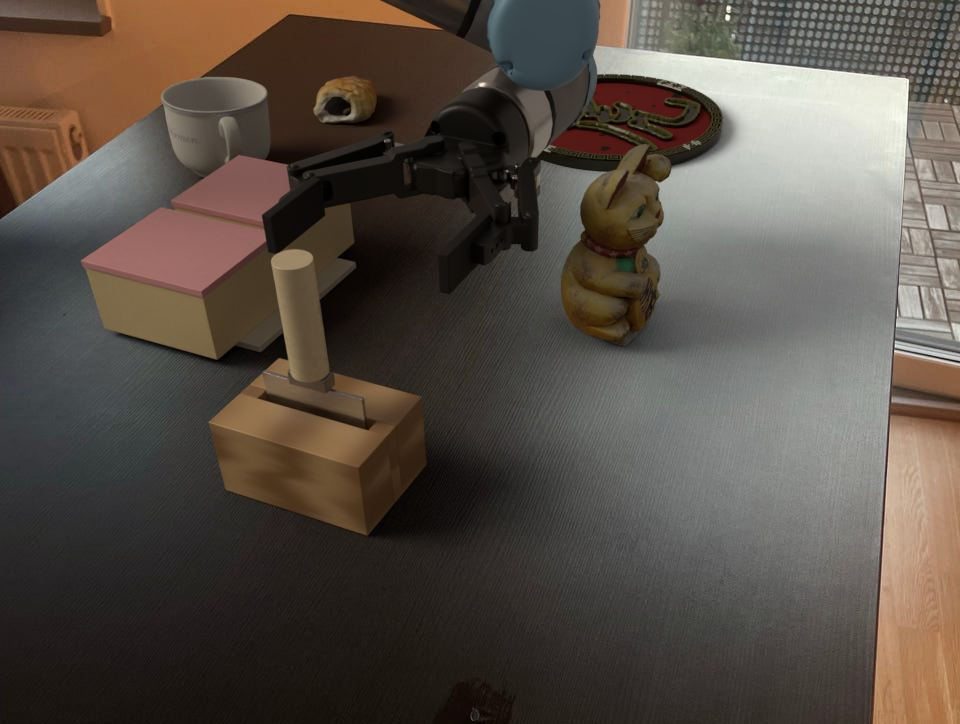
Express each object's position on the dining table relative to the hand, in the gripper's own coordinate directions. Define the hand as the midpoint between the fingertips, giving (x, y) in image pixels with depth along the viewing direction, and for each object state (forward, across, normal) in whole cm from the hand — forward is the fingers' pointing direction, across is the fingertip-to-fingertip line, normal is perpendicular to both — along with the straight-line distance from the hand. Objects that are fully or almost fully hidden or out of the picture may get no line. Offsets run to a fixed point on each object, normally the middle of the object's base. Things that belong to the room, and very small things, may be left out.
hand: (353, 254), depth 70 cm
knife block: (+7, 0, -14) cm, 16 cm away
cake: (-13, +22, -14) cm, 29 cm away
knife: (+7, 0, -14) cm, 16 cm away
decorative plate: (-62, +4, -14) cm, 64 cm away
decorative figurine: (-21, -11, -14) cm, 28 cm away
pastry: (-53, +34, -14) cm, 65 cm away
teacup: (-33, +37, -14) cm, 52 cm away
